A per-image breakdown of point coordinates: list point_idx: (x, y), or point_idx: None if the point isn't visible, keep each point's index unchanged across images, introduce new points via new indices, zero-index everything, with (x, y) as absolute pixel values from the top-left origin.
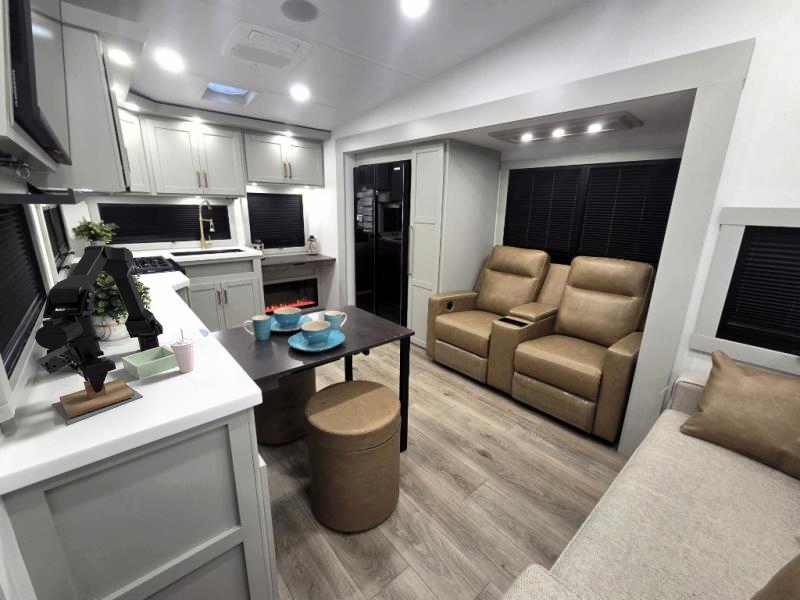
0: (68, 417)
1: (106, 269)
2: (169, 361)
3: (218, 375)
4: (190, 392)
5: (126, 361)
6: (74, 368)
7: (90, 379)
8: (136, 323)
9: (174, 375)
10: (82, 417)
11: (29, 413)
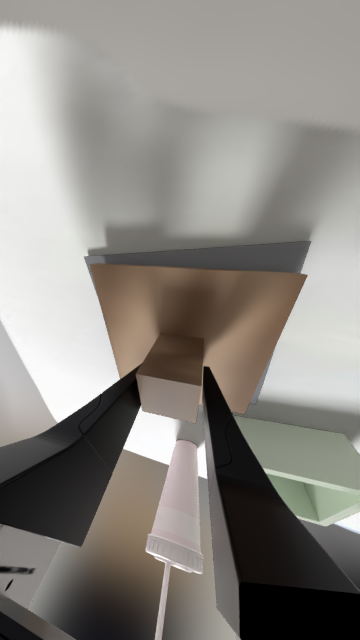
0: (98, 263)
1: None
2: None
3: (130, 441)
4: None
5: (329, 478)
6: (234, 568)
7: (65, 421)
8: None
9: (184, 433)
10: None
11: (336, 133)
